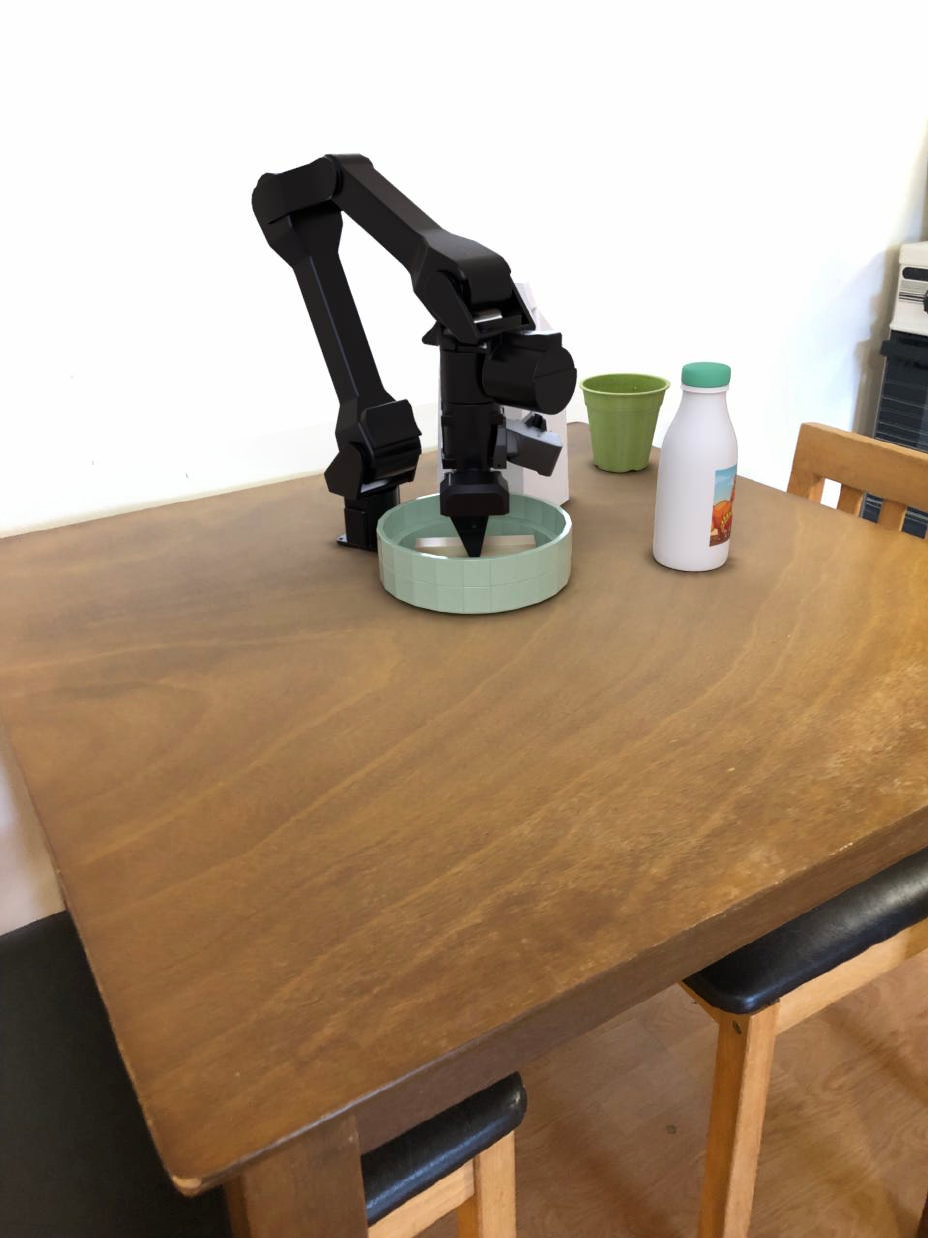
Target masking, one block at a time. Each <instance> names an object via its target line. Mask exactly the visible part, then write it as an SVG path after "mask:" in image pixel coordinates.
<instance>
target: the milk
mask: <svg viewBox="0 0 928 1238" xmlns="http://www.w3.org/2000/svg"><path fill="white" fill-rule="evenodd" d="M513 282H514V284H515V286H516V287H517V289H518V291H519V293H520V295H521V297H522V299H523V301H524V303H525V305H526V307H527V309H528V310H529V313H530V315H531V317H532V319H533V321H534V323H535V325H536V330H535V331H538V332H546V331H555V330H554V328H553V327H552V326H551V324H550V323H549V322H548V320H547V319H546V317H545V316H544V315H543V313H542V312H541V310H540V309H538V305H537V302H536V300H535V296H534V294H533V291H532V288H531V285H530V282H529V281H528V280H513ZM497 318H502V316H501V315H499V316H497V317H494V318H489V319H484V320H479V321H474V322H475V323H477V322H482V321H487V320H492V319H497ZM562 347H564V345H563V344H562ZM437 392H438V396H437V398H438V399H437V401H438V402H437V460H436V461H437V463H436V465H437V466H436V467H437V470H436V494H437V493H440V483H441V482H442V477H443V473H444V472H451V469H443V466H442V459H441V440H442V426H441V397H440V370H439V369H438V391H437ZM530 412H531V411H528V410H523V409H518V408H513V407H508V406H504V414H506V418H507V419H511V420H514V421H516V419H518V420H520V421H521V420H522V419H523V418H524V417H525V416H526V415H527V414H528V413H530ZM536 413H537V412H536ZM539 414H542V413H539ZM542 415H544V416H545V419H546V425H547V431H551V430H552V431H554V432H555V434H556V435H558V436H559V437H560V439H561V442H562V445H563V447H562V450H561V452H560V455H559V458H558V460H557V463H556V465H555V468H554V470H553V473H552V475H551V476H550V477H546V476H542V475H539V474H538V472H536V471H533V470H530V469H527V468H524V467H521V466H518V465H515V464H512V463H510V462H508V461H507V469H493V468H491V471H493V470H497V471H501V472H502V477H503V478H504V479H506V480H507V481H508V487H509V492H514V493H520V494H527V495H531V496H534V497H538V498H541V499H545V500H548V501H550V502H552V503H554V504H556V505H558V506H560V507H561V506H562V505H563V504H565V503H566V502H568V501H569V500H570V491H569V488H570V487H569V485H570V484H569V457H568V454H569V453H568V427H567V424H568V423H567V406H566V407H565V409H564V410H563V411H561V412H560V413H558V414H556V415H547V414H542Z"/></svg>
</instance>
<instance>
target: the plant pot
mask: <svg viewBox="0 0 928 1238" xmlns="http://www.w3.org/2000/svg"><path fill="white" fill-rule="evenodd" d="M671 385H672V384H671V381H670V380H668V379H667V378H665V377H662V376H659V375H655V374H648V373H640V372H639V373H637V372H610V373H609V372H608V373H600V374H595V375H591V376H588V377H584V378H583V379H581V380H580V381H579V382H578V388H580V390H582V395H583V401H584V405H585V407H586V414H587V419H588V427H589V435H590V442H591V449H592V457H593V463H594V466H597V468H599V469H600V470H603V471H605V472H614V473H619V474H622V473H627V472H629V471H632V470H634V471H641V470H643V469H645V468H646V467H647V466H648V464H649V460H650V456H651V452H652V447H653V441H654V437H655V433H656V429H657V423H658V420H659V416H660V410H661V407H662V406H663V403H664V400H665V395H666V392H667V390H668V389H669V388H670V387H671Z"/></svg>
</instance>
